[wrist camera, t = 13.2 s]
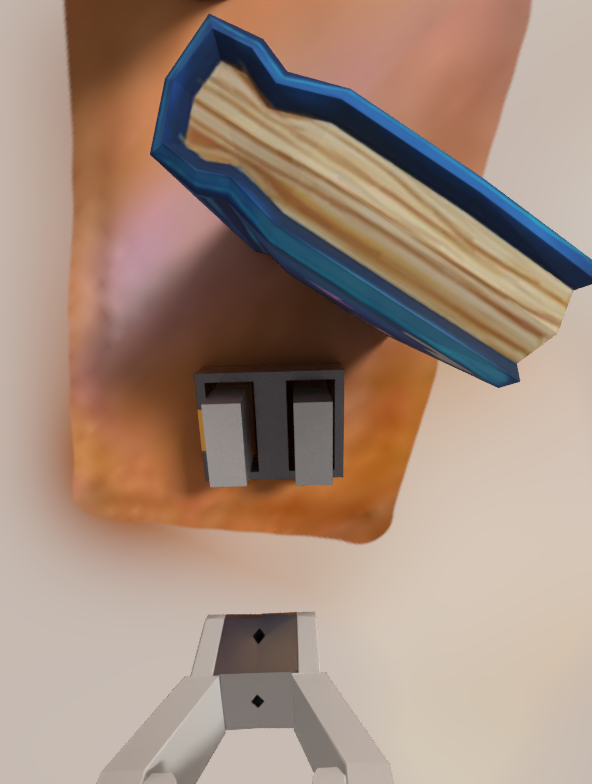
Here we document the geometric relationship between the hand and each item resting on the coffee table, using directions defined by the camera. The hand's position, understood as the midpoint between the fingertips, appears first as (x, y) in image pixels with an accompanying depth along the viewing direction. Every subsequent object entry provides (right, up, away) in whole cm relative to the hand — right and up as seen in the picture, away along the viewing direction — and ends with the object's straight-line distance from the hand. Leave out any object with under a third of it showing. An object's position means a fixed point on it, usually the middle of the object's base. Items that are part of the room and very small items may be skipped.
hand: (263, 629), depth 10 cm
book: (+4, +21, +30) cm, 37 cm away
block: (-6, +4, +34) cm, 35 cm away
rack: (-2, +4, +34) cm, 35 cm away
